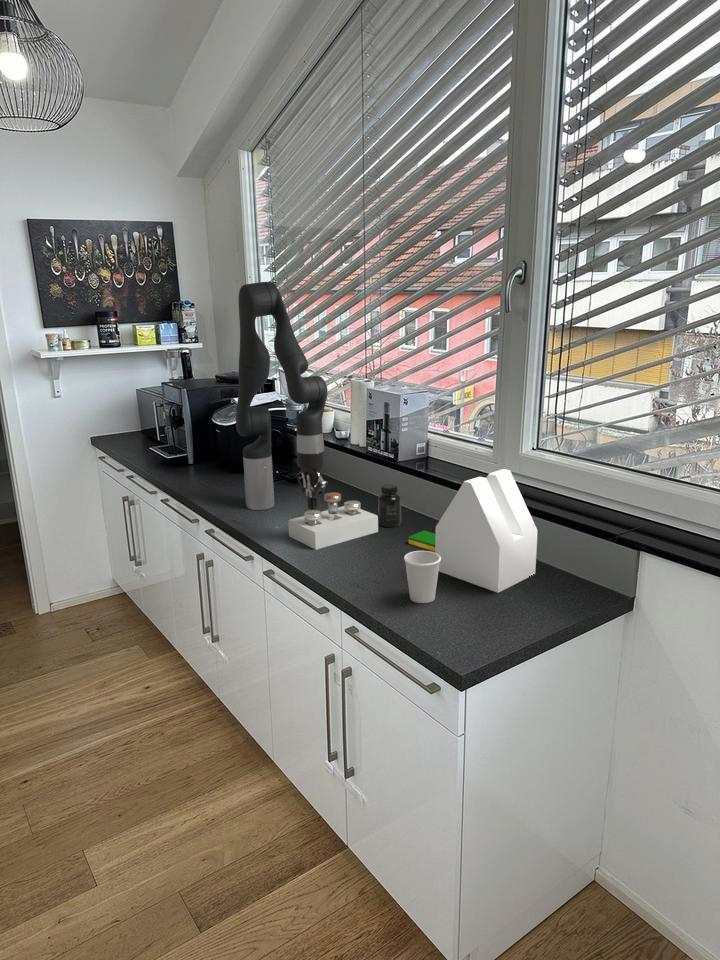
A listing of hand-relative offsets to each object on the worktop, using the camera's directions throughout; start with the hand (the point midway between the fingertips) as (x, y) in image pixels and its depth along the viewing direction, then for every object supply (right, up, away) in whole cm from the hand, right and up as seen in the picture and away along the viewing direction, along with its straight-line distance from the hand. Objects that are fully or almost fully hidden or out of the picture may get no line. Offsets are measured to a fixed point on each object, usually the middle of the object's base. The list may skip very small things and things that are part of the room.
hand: (312, 508), depth 191 cm
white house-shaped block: (+45, -15, -22) cm, 52 cm away
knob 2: (+11, -4, +10) cm, 15 cm away
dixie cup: (+28, -19, -36) cm, 49 cm away
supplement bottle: (+22, -5, +14) cm, 27 cm away
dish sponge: (+34, -11, -4) cm, 36 cm away
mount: (+6, -8, +6) cm, 11 cm away
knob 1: (0, -6, +2) cm, 7 cm away
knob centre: (+6, -1, +5) cm, 7 cm away
